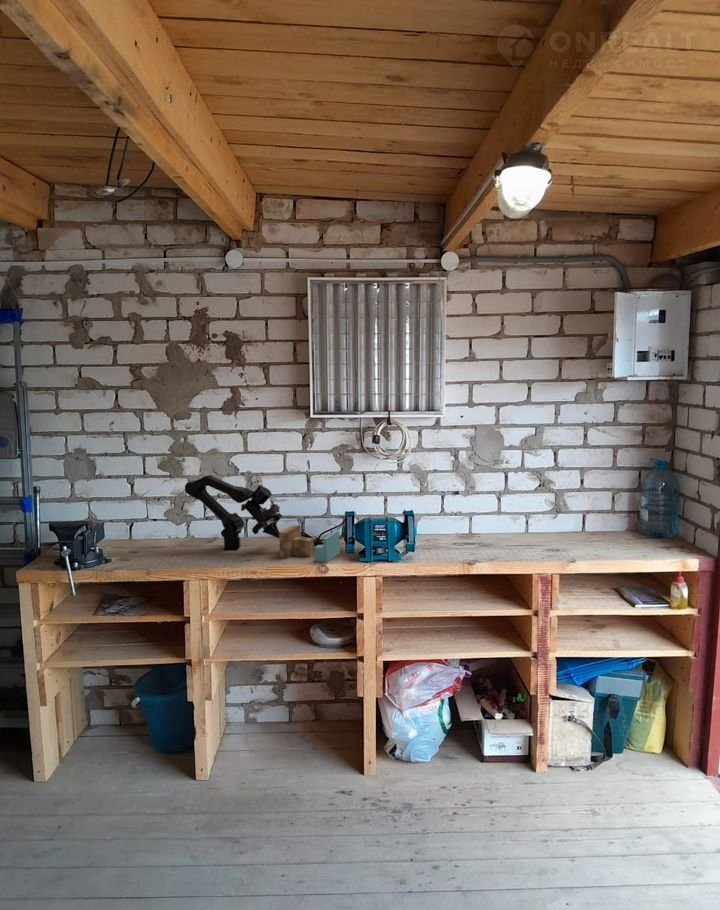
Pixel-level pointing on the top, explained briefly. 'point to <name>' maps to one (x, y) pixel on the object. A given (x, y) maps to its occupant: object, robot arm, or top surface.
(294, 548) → the walnut t block
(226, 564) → the top surface
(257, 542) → the top surface
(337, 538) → the teal block
